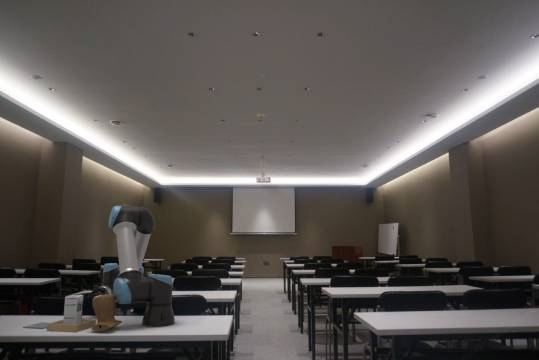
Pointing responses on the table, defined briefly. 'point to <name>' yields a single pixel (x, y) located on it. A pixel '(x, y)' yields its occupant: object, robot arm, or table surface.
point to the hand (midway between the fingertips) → (81, 299)
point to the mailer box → (71, 325)
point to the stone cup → (105, 312)
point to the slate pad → (38, 325)
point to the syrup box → (73, 309)
